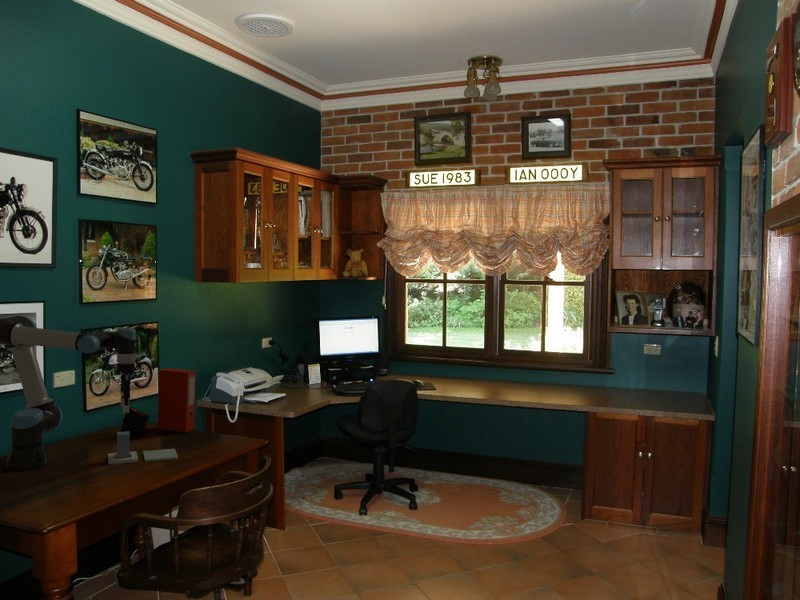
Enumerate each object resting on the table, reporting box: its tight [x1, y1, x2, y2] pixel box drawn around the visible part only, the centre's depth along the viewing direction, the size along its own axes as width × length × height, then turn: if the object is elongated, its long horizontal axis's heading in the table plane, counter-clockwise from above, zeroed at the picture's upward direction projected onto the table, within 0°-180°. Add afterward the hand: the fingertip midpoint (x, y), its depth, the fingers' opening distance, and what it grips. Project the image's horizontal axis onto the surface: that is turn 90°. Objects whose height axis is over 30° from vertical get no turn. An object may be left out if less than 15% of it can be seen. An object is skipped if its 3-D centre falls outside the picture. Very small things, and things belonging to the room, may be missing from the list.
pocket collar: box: [107, 451, 139, 465], centre depth 290 cm, size 12×12×2 cm
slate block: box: [116, 431, 131, 459], centre depth 290 cm, size 5×5×12 cm
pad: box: [142, 448, 179, 463], centre depth 297 cm, size 14×14×1 cm
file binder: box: [157, 367, 197, 433], centre depth 344 cm, size 8×17×32 cm, turn 75°
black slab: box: [119, 406, 150, 438], centre depth 328 cm, size 4×13×15 cm, turn 88°
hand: (124, 409), depth 291 cm, fingers open, 13 cm apart
